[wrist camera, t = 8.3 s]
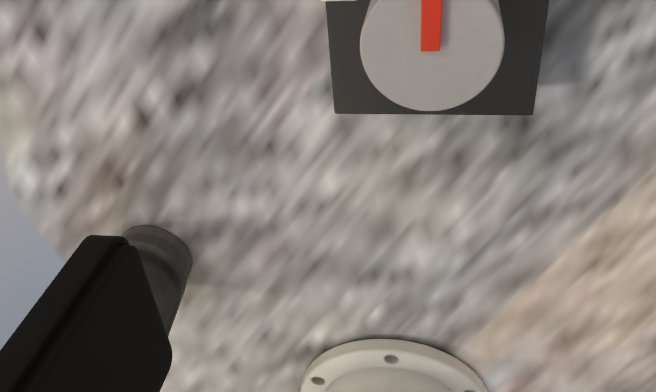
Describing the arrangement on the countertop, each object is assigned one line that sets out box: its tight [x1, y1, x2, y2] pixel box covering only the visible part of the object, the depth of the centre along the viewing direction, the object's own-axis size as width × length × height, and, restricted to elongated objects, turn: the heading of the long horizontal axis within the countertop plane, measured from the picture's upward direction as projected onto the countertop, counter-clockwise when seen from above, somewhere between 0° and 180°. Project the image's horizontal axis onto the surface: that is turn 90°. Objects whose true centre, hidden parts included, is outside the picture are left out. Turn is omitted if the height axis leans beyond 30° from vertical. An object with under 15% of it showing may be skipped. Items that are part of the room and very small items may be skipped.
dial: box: [360, 0, 505, 111], centre depth 19 cm, size 4×4×5 cm
